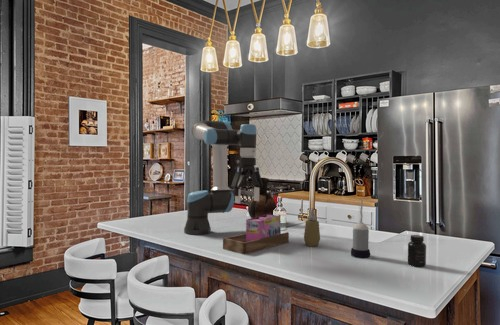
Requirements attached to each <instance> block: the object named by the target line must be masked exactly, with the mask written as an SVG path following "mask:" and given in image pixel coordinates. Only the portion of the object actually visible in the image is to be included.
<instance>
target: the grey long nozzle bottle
mask: <svg viewBox="0 0 500 325" xmlns="http://www.w3.org/2000/svg"><path fill="white" fill-rule="evenodd" d="M363 203H364V202H363V199H361V200H359V206H358V207H359V211H358V212H359V221H358V222H357V223H356V224H355V225H353V229H352V248H351V249H350V256H351V257H353V258H356V259H369V258H370V256H371V249H369V241H370V240H369V234H370V233H369V232H370V231H369V227H368V226H367V224H365V223H364V222H363V216H364V215H363Z"/></svg>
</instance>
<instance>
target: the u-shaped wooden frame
mask: <svg viewBox="0 0 500 325" xmlns="http://www.w3.org/2000/svg"><path fill="white" fill-rule="evenodd" d="M289 233H290V232H283V233H281V234H278V235H274V236H270V237H265V238H261V239H257V240H253V241H249V242H246V232H245V233H241V234H237V235H232V236H226V237H223V238H222V249H223V250H227V251H231V252H235V253H238V254H241V255H248V254H252V253H254V252H258V251H261V250H262V251H263V250H265V249H270V248H273V247H276V246H277V247H278V246H280V244H281V245H284V244H288V243H289V241H290V240H289V239H290V237H289V236H290V235H289ZM251 252H252V253H251Z"/></svg>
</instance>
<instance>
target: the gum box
mask: <svg viewBox="0 0 500 325" xmlns="http://www.w3.org/2000/svg"><path fill="white" fill-rule="evenodd" d="M245 227H246V228H245V230H246V231H245V233H246V242H249V241H253V240H257V239H261V238H265V237H270V236H274V235H278V234H282V233H281V231H282V230H281V228H282V226H281V214H278V215H276V214H275V215H271V214H265V215H262V216H258V217H255V218H251V217H250V218H248V219H246V223H245Z"/></svg>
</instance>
